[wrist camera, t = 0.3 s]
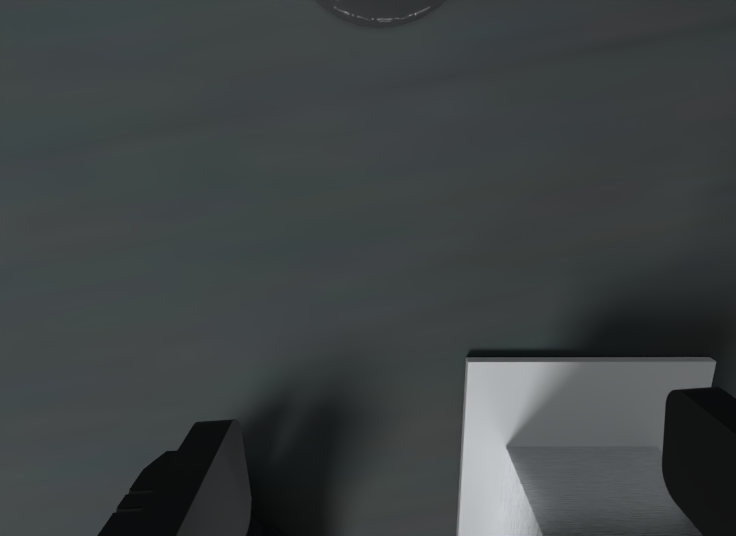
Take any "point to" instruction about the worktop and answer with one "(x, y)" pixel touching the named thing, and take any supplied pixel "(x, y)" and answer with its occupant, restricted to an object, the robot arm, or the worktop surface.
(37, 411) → the worktop surface
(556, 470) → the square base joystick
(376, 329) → the worktop surface
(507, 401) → the tray
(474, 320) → the worktop surface
